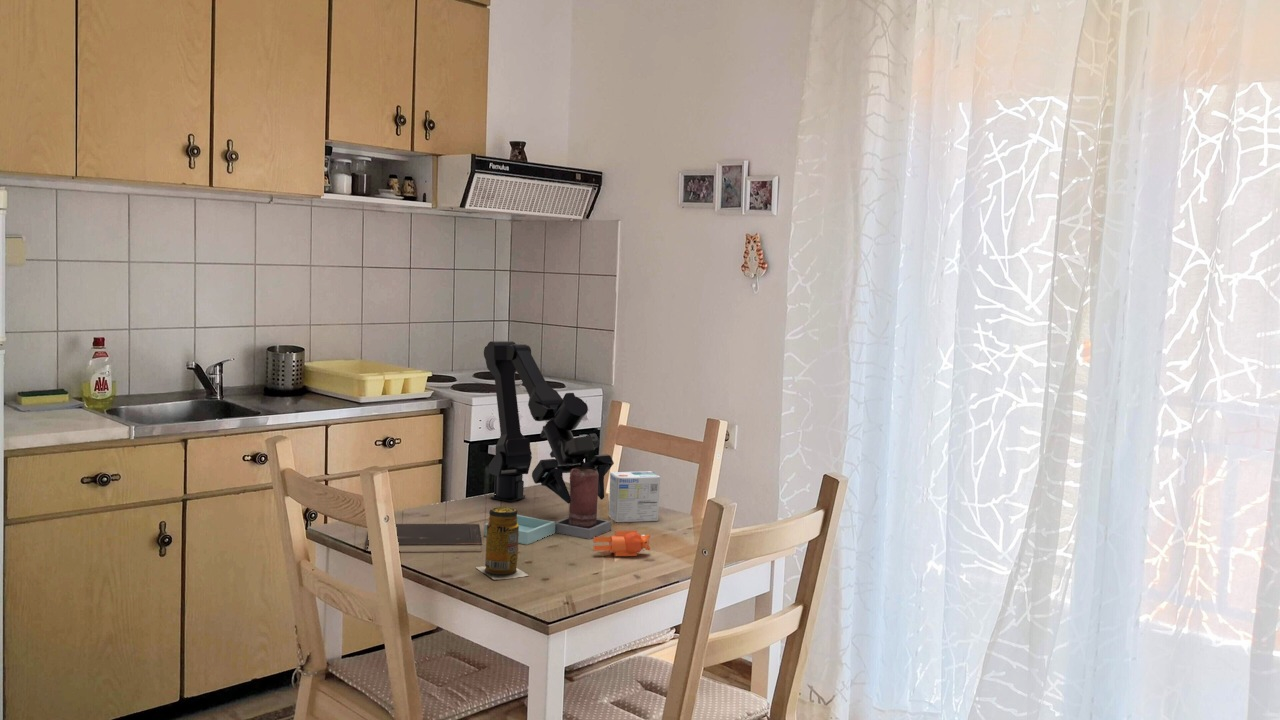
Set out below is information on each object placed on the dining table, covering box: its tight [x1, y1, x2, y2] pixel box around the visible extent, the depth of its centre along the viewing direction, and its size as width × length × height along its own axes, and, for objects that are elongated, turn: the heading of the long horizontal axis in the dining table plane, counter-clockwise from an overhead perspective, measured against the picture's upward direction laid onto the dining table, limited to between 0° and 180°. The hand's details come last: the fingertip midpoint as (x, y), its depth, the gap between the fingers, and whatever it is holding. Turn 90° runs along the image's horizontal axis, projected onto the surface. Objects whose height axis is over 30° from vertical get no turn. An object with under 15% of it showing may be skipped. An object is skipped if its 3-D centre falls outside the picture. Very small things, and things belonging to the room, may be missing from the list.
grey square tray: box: [555, 516, 612, 540], centre depth 227 cm, size 10×10×2 cm
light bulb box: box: [608, 470, 661, 523], centre depth 240 cm, size 11×7×11 cm, turn 108°
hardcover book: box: [364, 523, 483, 553], centre depth 213 cm, size 16×23×2 cm
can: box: [568, 467, 599, 529], centre depth 226 cm, size 6×6×14 cm
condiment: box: [475, 506, 530, 581], centre depth 194 cm, size 7×8×12 cm
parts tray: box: [483, 514, 556, 546], centre depth 221 cm, size 11×11×3 cm
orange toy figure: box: [592, 530, 651, 557], centre depth 211 cm, size 5×8×12 cm
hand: (586, 500), depth 225 cm, fingers open, 8 cm apart
